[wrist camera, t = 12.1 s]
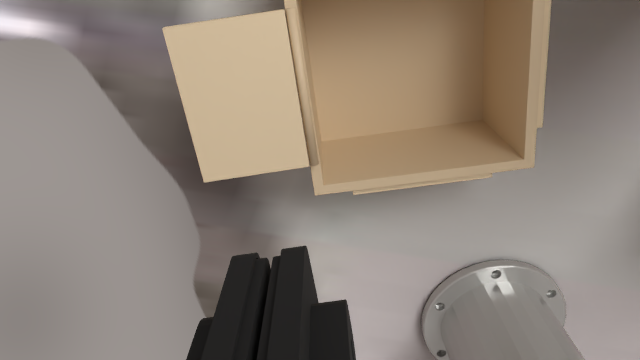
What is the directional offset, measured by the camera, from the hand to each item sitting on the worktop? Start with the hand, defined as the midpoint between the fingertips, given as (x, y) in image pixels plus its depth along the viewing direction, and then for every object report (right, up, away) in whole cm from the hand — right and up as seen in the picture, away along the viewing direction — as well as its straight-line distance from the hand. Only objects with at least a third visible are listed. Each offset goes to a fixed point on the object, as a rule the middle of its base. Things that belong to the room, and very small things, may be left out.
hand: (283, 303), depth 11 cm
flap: (0, +8, +14) cm, 16 cm away
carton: (+6, +12, +21) cm, 25 cm away
